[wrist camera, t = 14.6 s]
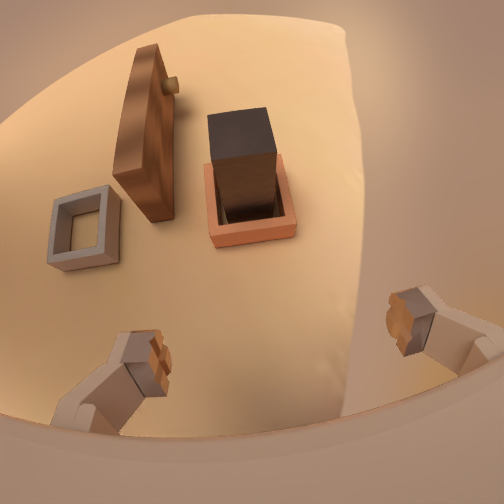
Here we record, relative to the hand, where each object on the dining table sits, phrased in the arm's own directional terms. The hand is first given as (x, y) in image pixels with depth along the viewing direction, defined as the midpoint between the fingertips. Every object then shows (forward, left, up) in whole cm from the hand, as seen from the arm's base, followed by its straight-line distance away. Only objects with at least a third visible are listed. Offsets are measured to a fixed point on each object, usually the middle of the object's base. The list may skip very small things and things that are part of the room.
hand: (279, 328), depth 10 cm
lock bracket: (+6, +11, -15) cm, 20 cm away
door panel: (+3, +23, -15) cm, 28 cm away
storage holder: (-9, +19, -15) cm, 26 cm away
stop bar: (+6, +11, -15) cm, 20 cm away
